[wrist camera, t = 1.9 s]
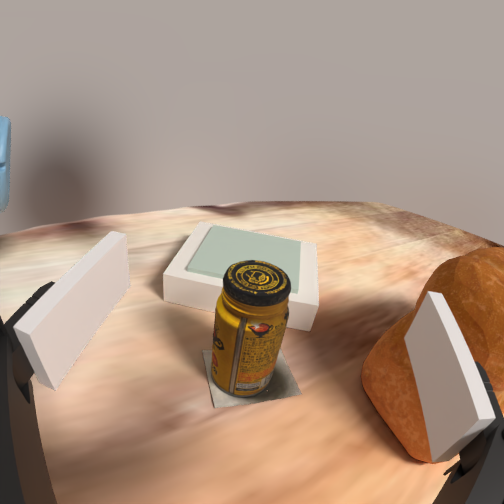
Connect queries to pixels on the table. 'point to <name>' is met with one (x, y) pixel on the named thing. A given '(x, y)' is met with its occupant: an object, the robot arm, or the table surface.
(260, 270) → the condiment
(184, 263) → the riser
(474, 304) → the bread
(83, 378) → the table surface
